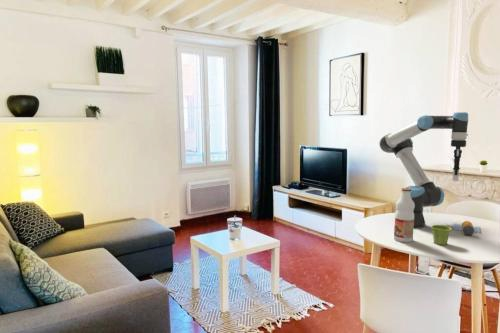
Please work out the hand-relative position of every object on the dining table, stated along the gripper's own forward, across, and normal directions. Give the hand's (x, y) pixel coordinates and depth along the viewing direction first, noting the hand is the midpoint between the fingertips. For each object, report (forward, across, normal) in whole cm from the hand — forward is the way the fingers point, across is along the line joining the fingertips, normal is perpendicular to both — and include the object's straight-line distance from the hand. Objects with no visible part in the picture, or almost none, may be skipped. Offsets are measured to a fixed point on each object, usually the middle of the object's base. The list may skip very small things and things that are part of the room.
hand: (455, 180), depth 214 cm
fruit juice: (+30, -34, +22) cm, 50 cm away
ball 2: (+27, -6, -8) cm, 28 cm away
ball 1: (+27, +5, -8) cm, 28 cm away
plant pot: (+30, -30, +5) cm, 42 cm away
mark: (+29, +9, -8) cm, 32 cm away
